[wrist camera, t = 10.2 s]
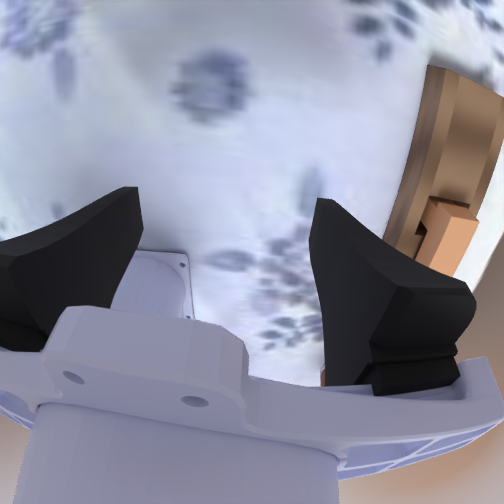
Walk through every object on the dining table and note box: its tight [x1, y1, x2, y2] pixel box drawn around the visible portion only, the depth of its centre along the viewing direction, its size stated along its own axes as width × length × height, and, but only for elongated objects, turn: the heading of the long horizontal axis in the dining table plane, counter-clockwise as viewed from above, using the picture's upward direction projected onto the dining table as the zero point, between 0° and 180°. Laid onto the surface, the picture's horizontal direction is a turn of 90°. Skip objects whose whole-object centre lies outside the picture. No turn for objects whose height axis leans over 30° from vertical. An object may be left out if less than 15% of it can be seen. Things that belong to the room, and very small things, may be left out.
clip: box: [415, 195, 479, 277], centre depth 22 cm, size 9×3×5 cm, turn 176°
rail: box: [382, 65, 504, 260], centre depth 23 cm, size 28×7×2 cm, turn 176°
